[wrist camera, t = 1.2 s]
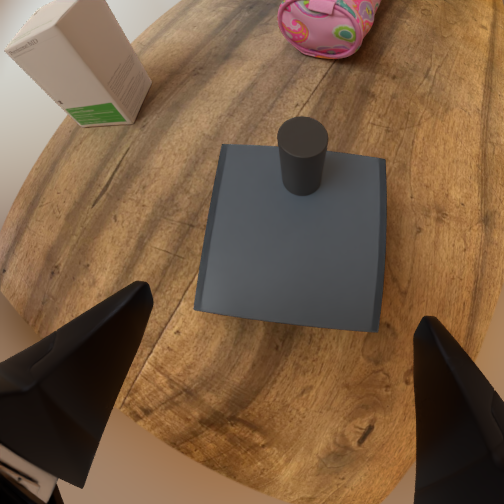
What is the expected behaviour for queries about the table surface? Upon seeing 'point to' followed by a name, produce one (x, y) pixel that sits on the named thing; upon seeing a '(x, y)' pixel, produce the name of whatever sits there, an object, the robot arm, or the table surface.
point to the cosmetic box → (82, 62)
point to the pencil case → (326, 25)
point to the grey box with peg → (296, 233)
